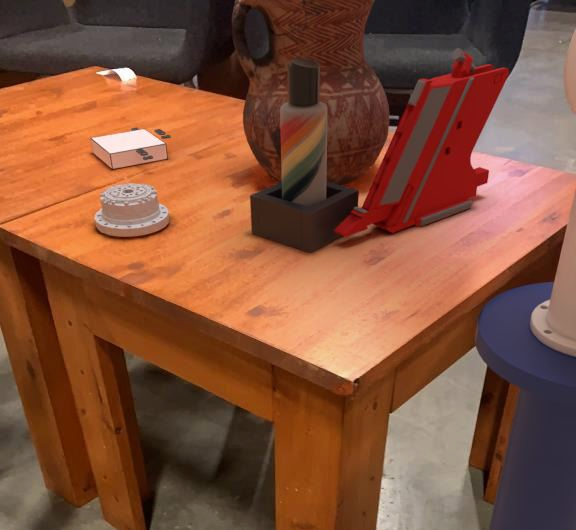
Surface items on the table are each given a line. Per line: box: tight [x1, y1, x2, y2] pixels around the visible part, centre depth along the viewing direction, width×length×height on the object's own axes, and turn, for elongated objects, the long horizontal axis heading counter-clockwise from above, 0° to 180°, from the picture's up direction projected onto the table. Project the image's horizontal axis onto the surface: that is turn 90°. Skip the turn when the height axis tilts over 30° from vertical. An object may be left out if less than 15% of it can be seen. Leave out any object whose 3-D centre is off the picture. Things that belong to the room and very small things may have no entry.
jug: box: [231, 0, 390, 186], centre depth 109 cm, size 22×21×25 cm
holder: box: [249, 181, 360, 253], centre depth 100 cm, size 10×10×5 cm
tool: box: [334, 47, 510, 238], centre depth 100 cm, size 24×5×25 cm, turn 133°
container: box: [90, 127, 172, 171], centre depth 125 cm, size 20×11×3 cm, turn 29°
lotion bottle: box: [280, 58, 327, 207], centre depth 95 cm, size 6×6×20 cm
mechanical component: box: [93, 182, 170, 238], centre depth 103 cm, size 10×4×10 cm
